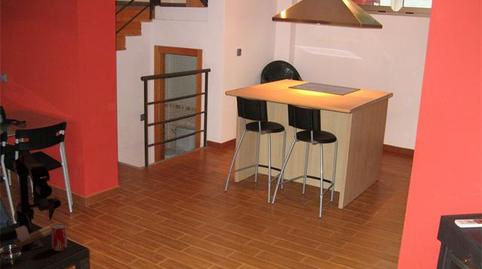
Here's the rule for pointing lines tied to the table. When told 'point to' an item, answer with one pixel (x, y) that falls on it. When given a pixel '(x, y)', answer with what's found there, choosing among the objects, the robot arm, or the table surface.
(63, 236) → the soda can
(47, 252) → the table surface
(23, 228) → the rider
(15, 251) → the table surface
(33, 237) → the beam
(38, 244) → the fulcrum
